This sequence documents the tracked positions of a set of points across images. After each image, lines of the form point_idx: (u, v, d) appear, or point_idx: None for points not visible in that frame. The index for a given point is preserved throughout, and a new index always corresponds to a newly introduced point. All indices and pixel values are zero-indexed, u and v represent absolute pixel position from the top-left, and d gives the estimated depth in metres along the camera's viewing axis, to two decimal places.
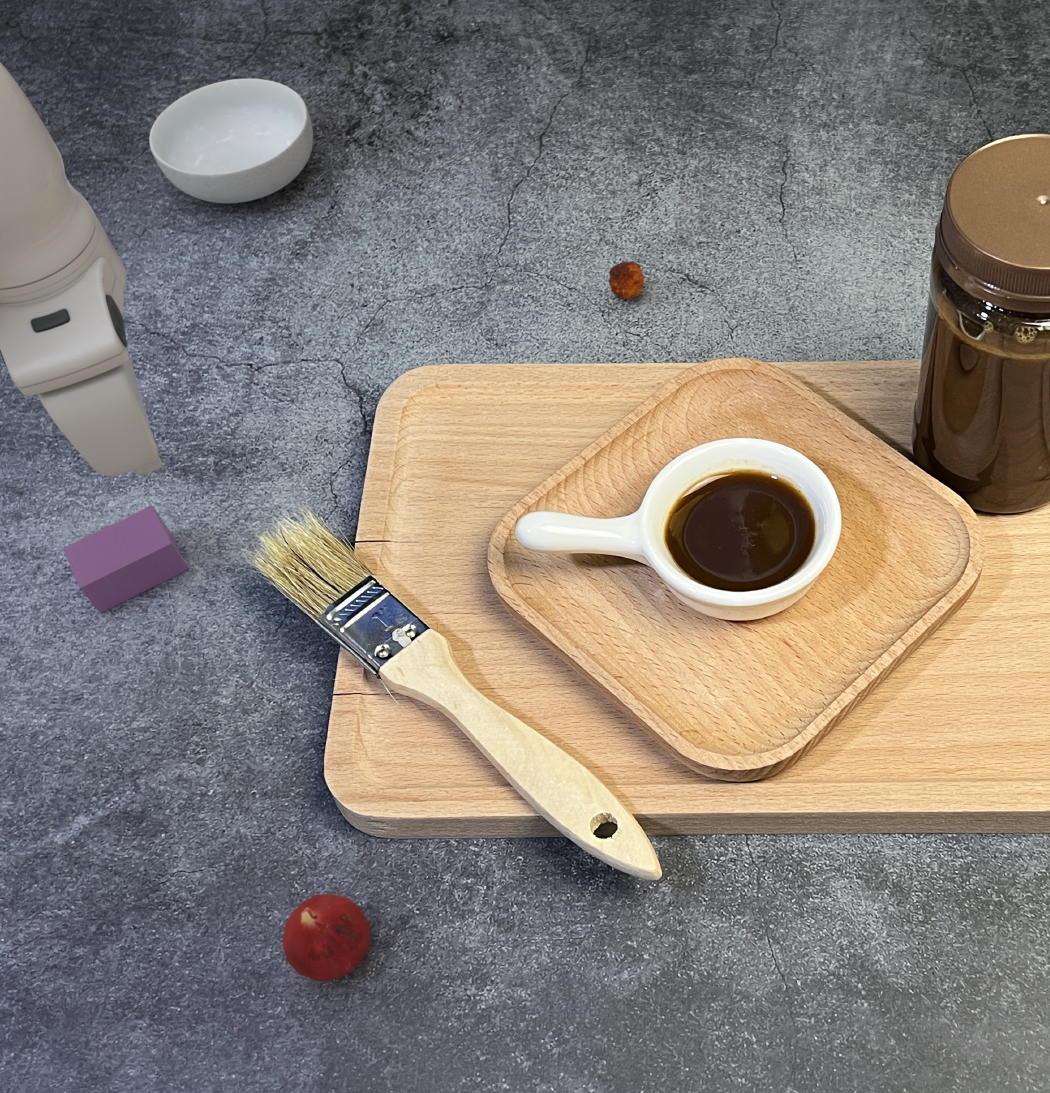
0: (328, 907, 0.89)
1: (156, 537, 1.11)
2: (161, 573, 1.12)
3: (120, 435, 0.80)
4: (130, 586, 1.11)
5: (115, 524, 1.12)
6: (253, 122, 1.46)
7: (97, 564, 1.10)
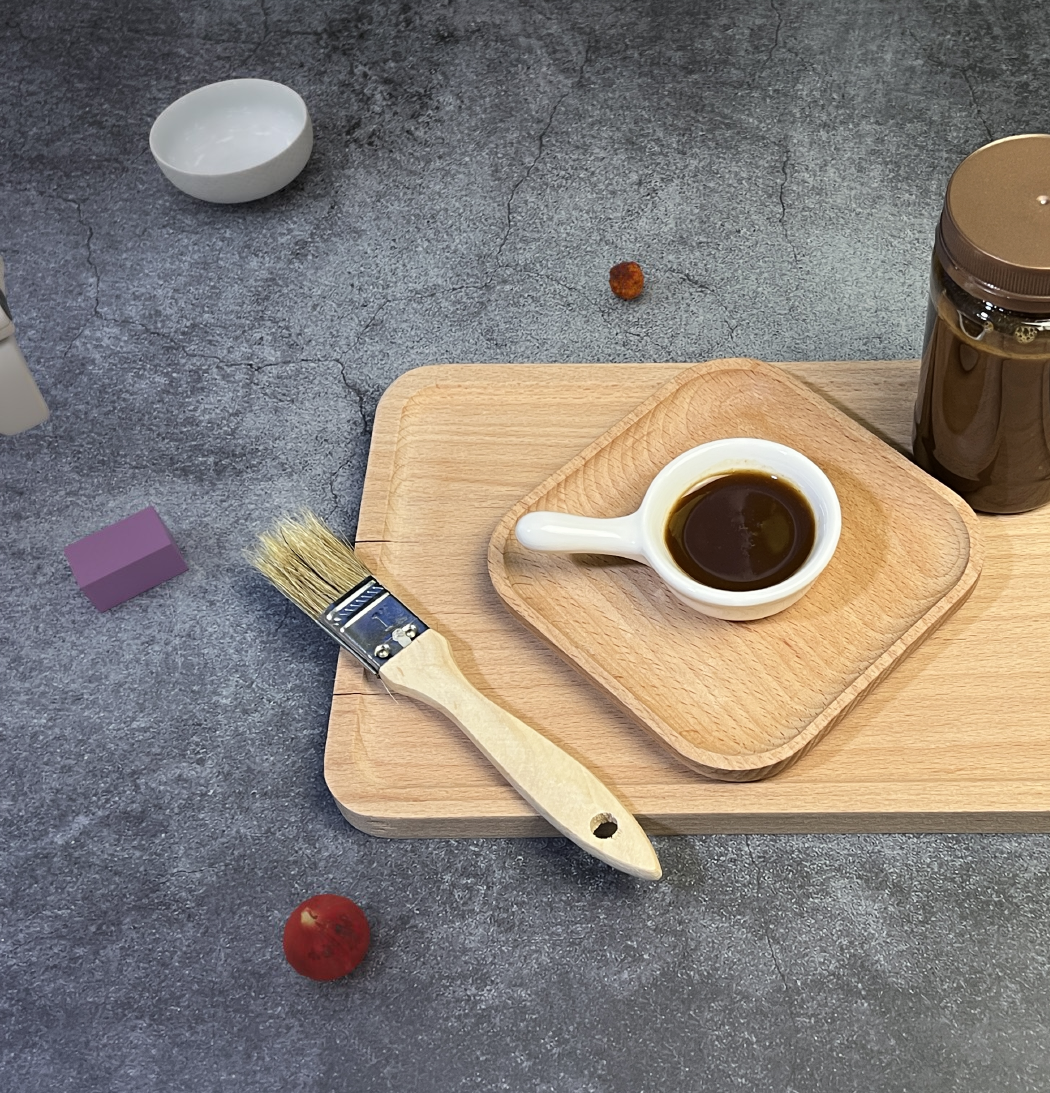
0: (328, 907, 0.89)
1: (156, 537, 1.11)
2: (161, 573, 1.12)
3: (15, 397, 0.95)
4: (130, 586, 1.11)
5: (115, 524, 1.12)
6: (253, 122, 1.46)
7: (97, 564, 1.10)
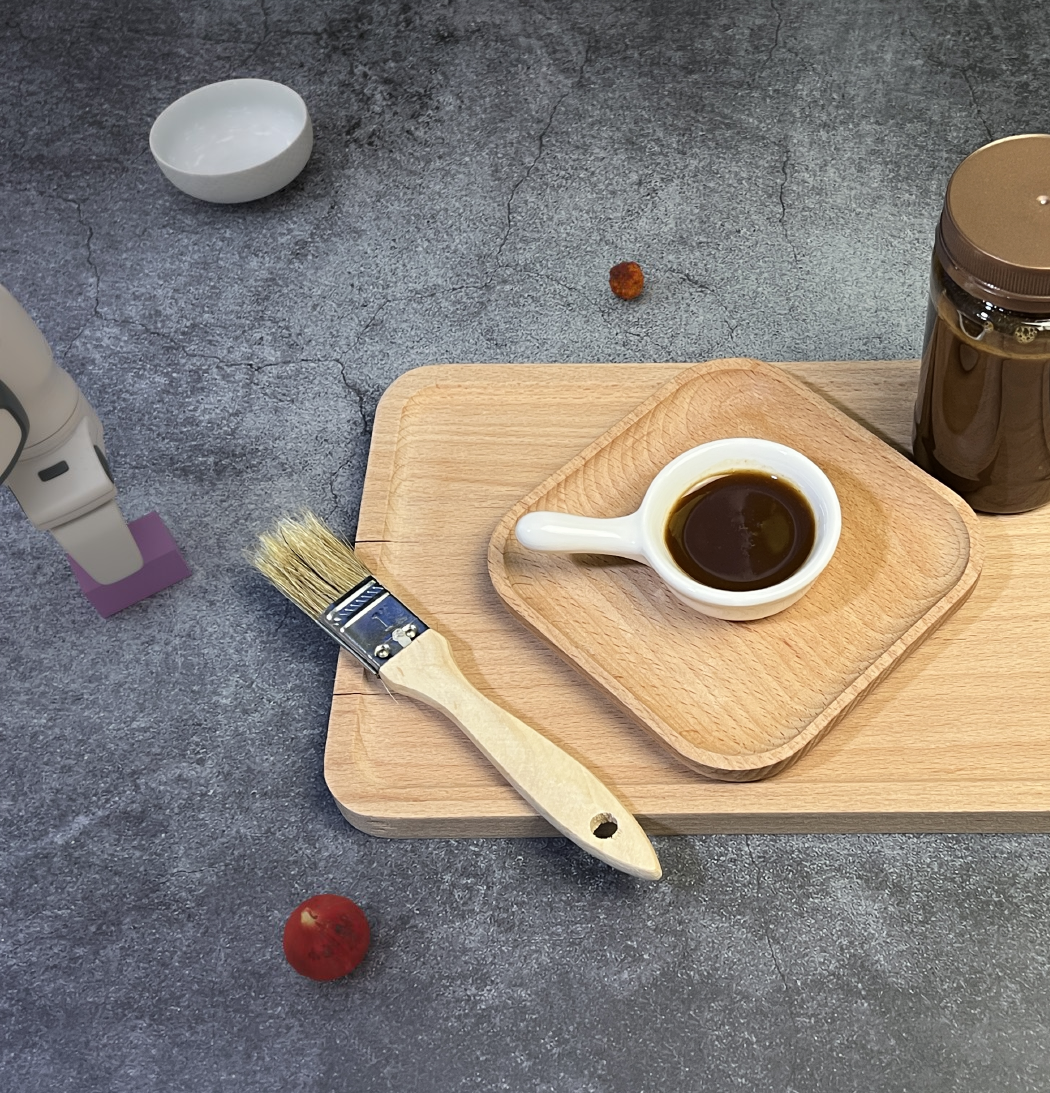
0: (328, 907, 0.89)
1: (160, 543, 1.11)
2: (164, 578, 1.12)
3: (115, 552, 1.02)
4: (133, 592, 1.11)
5: None
6: (253, 122, 1.46)
7: None
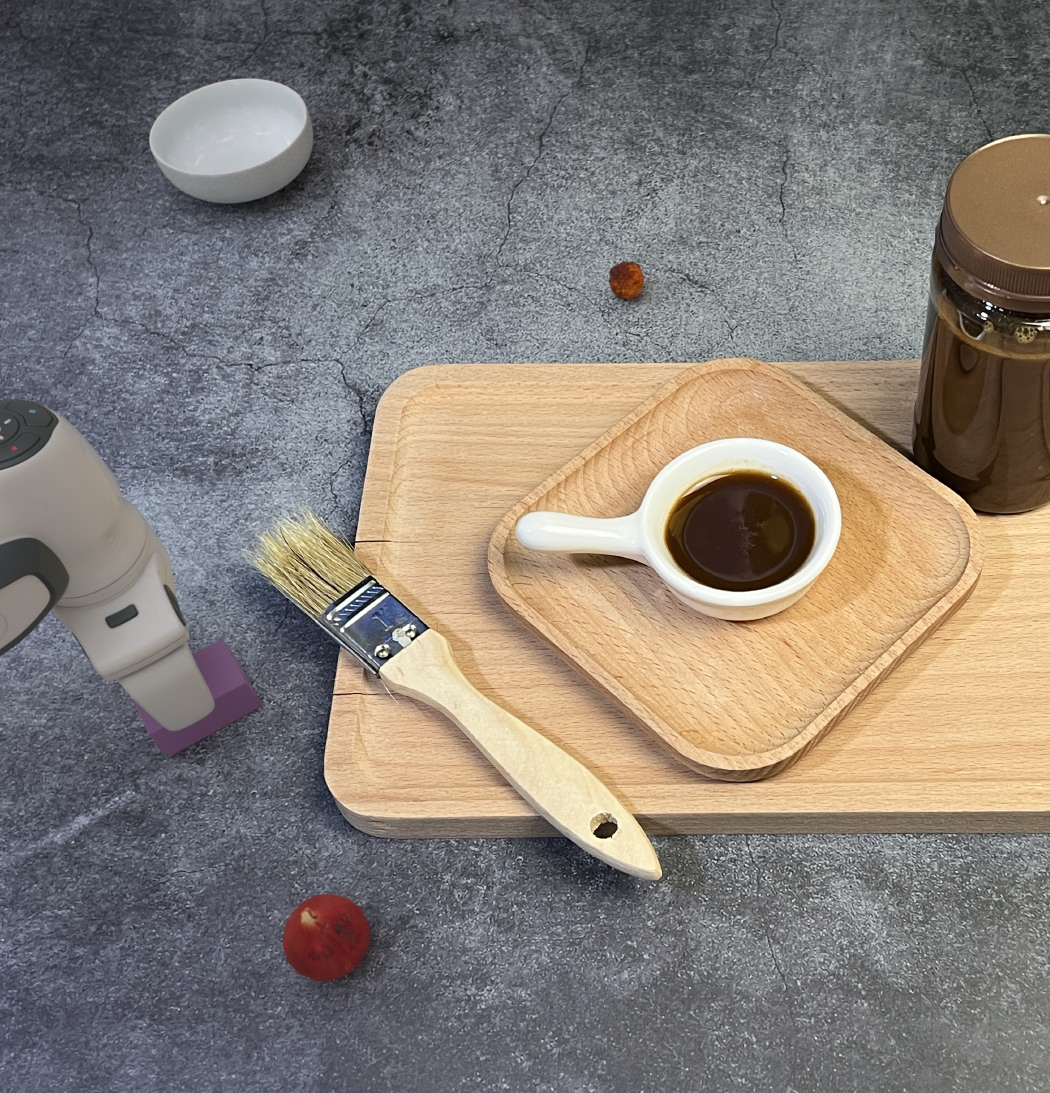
0: (328, 907, 0.89)
1: (229, 675, 1.03)
2: (234, 712, 1.04)
3: (186, 698, 0.94)
4: (201, 728, 1.03)
5: None
6: (253, 122, 1.46)
7: None
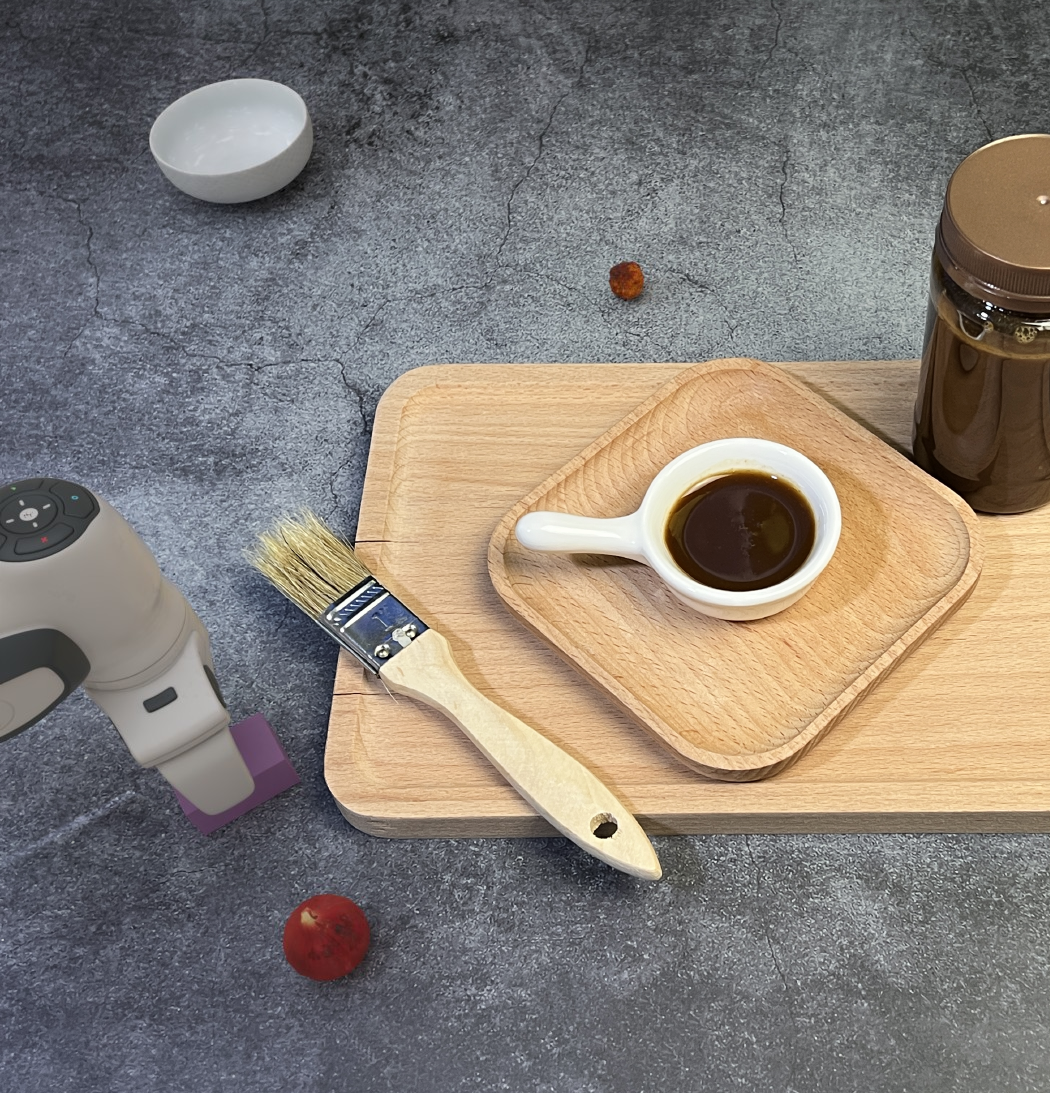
0: (328, 907, 0.89)
1: (268, 751, 0.99)
2: (272, 789, 1.00)
3: (226, 782, 0.91)
4: (238, 806, 0.99)
5: None
6: (253, 122, 1.46)
7: None
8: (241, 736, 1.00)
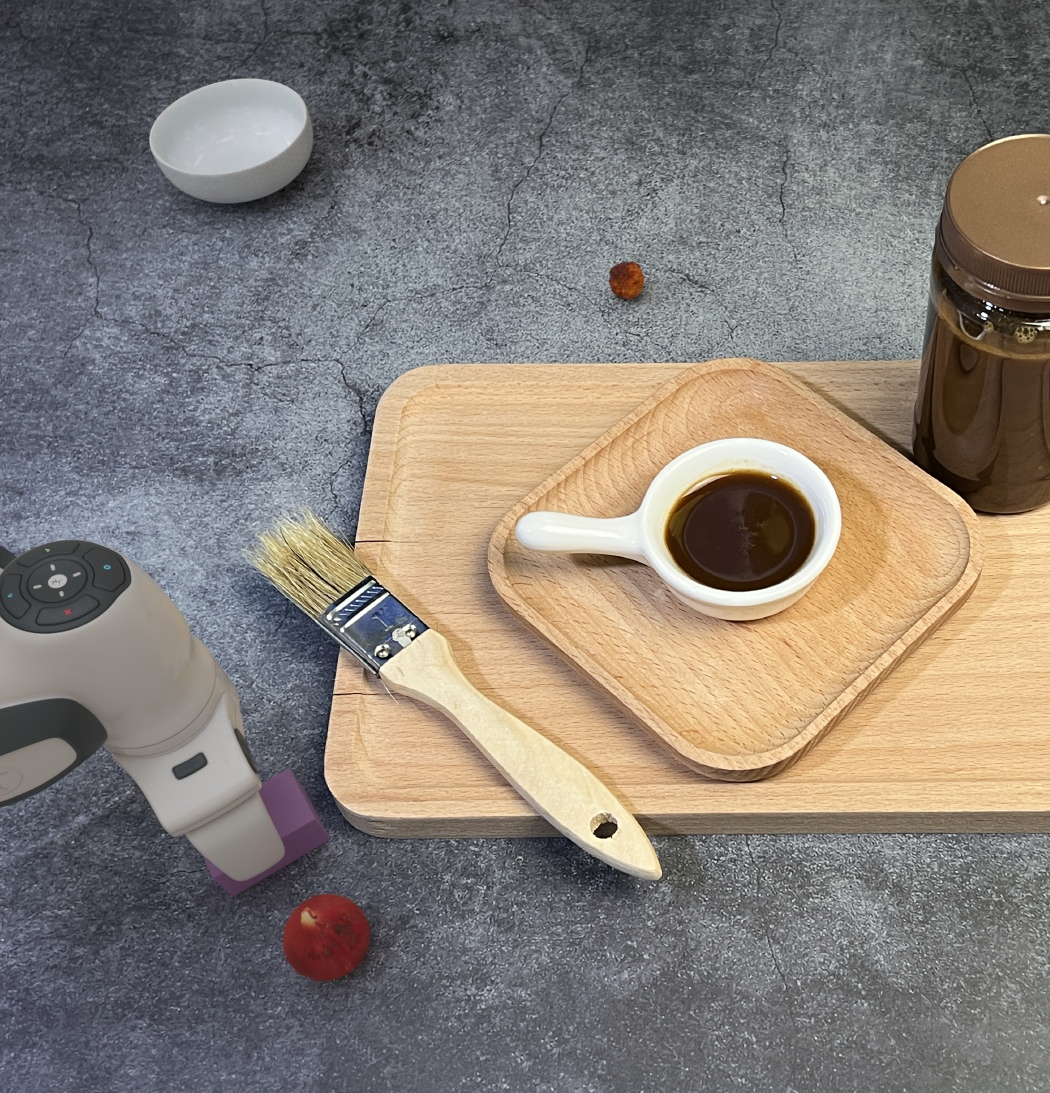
0: (328, 907, 0.89)
1: (297, 811, 0.96)
2: (301, 848, 0.97)
3: (256, 849, 0.88)
4: None
5: None
6: (253, 122, 1.46)
7: None
8: (269, 794, 0.97)
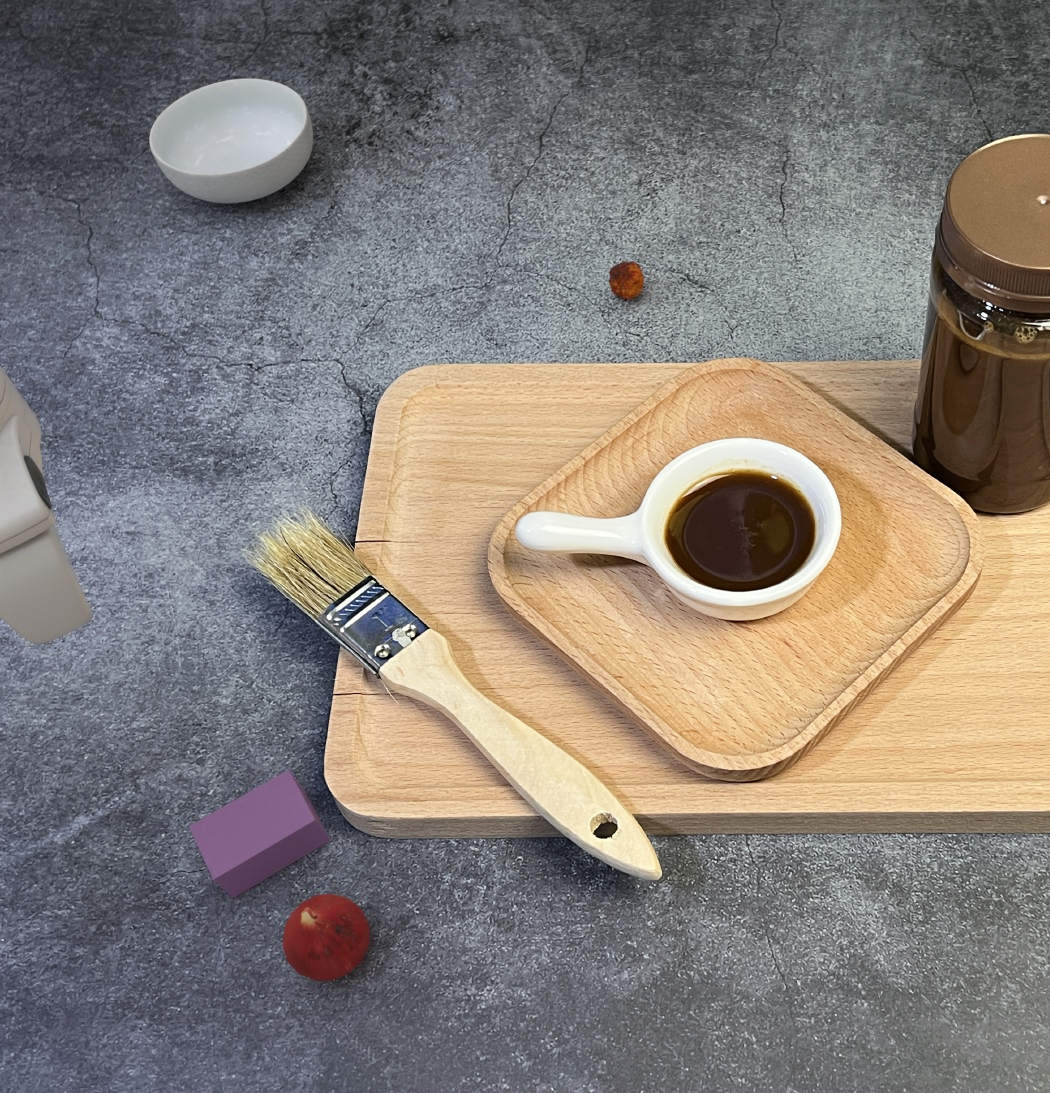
0: (328, 907, 0.89)
1: (297, 812, 0.96)
2: (301, 849, 0.97)
3: (52, 601, 0.75)
4: (267, 868, 0.96)
5: (248, 795, 0.97)
6: (253, 122, 1.46)
7: (231, 847, 0.95)
8: (270, 795, 0.97)
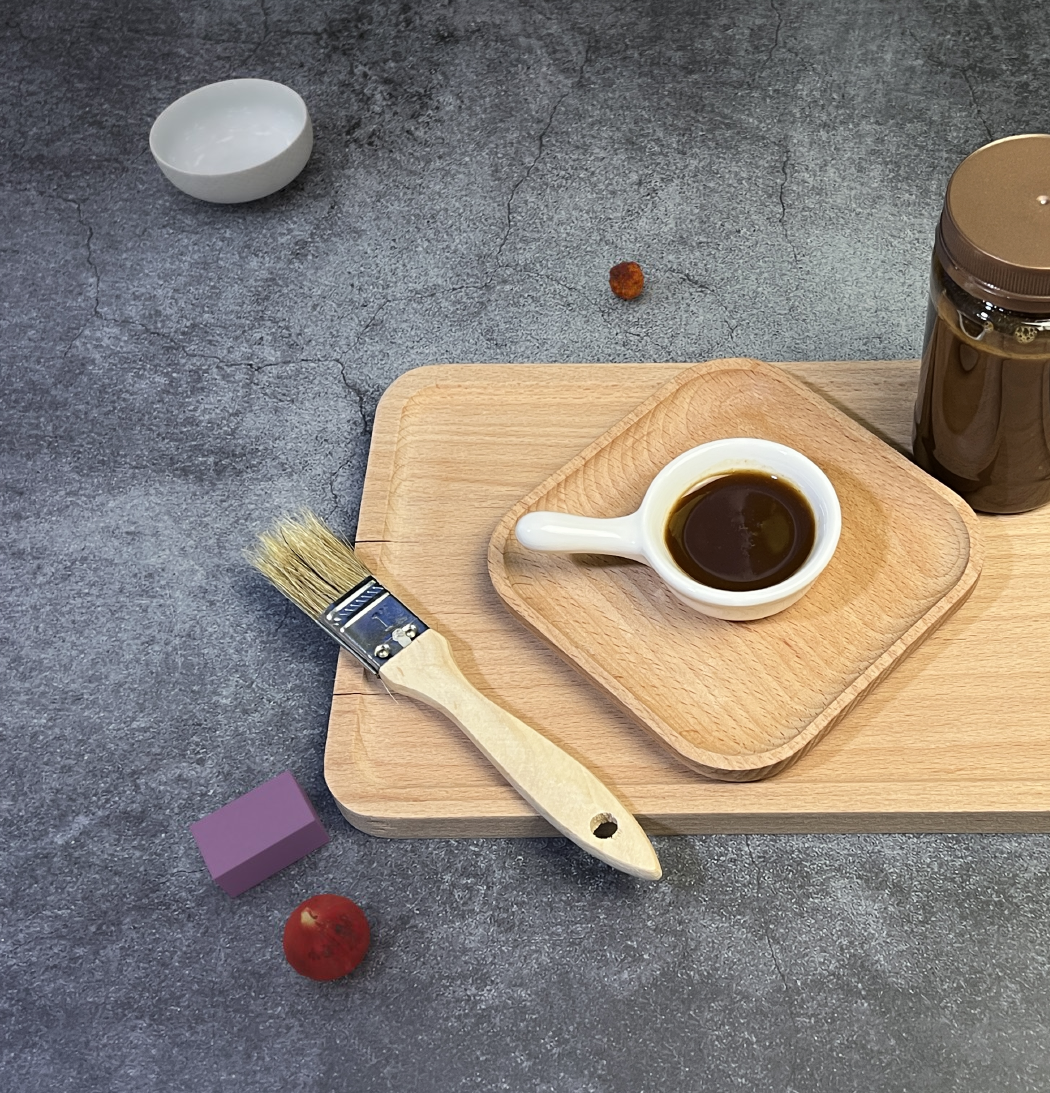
0: (328, 907, 0.89)
1: (297, 812, 0.96)
2: (301, 849, 0.97)
3: None
4: (267, 868, 0.96)
5: (248, 795, 0.97)
6: (253, 122, 1.46)
7: (231, 847, 0.95)
8: (270, 795, 0.97)
